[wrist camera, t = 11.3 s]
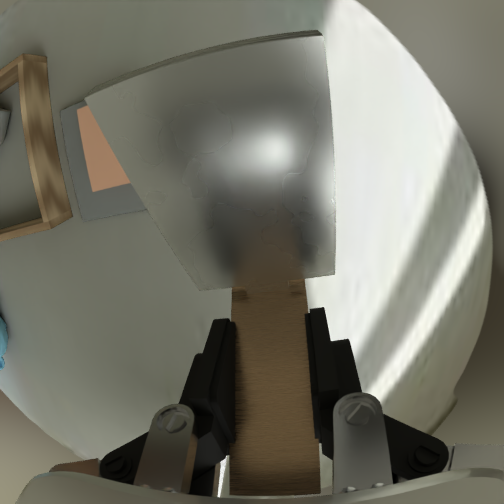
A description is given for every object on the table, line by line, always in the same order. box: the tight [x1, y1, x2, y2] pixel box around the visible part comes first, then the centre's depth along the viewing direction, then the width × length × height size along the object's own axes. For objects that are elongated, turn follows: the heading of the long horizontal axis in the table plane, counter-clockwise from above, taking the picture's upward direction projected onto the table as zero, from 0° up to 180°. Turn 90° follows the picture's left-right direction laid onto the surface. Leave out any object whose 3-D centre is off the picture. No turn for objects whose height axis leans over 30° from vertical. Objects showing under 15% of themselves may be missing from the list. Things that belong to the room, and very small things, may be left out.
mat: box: [60, 100, 147, 222], centre depth 25 cm, size 12×16×1 cm
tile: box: [77, 105, 131, 192], centre depth 24 cm, size 2×7×8 cm
